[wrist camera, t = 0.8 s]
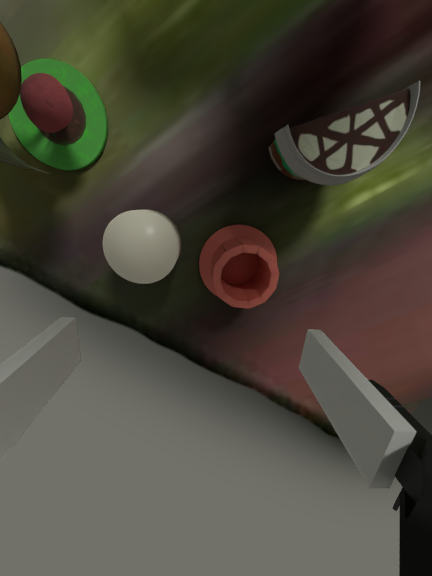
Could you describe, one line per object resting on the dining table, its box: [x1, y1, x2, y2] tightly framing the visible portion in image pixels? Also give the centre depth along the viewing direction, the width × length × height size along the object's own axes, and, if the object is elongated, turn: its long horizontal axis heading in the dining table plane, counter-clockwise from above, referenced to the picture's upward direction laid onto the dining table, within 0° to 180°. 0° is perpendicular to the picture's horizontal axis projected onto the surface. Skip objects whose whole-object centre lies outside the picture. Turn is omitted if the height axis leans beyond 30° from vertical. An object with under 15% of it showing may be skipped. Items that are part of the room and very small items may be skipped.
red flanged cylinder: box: [199, 224, 279, 308], centre depth 31 cm, size 11×11×7 cm
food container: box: [268, 81, 420, 185], centre depth 25 cm, size 12×6×10 cm, turn 107°
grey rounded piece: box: [103, 209, 181, 284], centre depth 29 cm, size 8×8×7 cm
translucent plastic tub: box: [0, 22, 108, 174], centre depth 20 cm, size 12×13×15 cm
